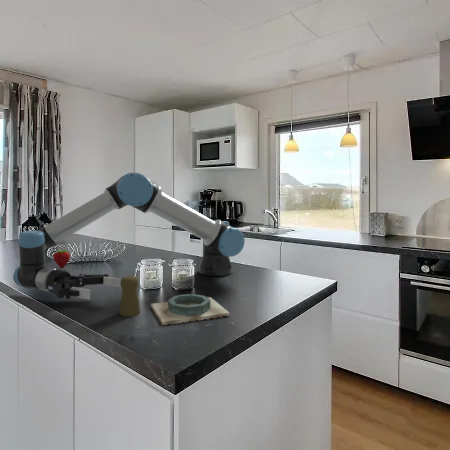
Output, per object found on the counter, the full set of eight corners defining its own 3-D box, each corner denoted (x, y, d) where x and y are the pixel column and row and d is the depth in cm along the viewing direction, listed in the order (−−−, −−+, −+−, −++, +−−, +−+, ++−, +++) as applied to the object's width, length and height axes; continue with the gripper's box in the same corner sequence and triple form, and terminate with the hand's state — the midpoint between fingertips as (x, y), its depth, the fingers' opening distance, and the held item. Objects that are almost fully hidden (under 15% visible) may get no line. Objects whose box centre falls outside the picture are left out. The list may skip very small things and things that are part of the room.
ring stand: (210, 299, 117) (210, 289, 116) (229, 316, 102) (229, 304, 102) (151, 306, 109) (151, 296, 109) (162, 325, 94) (162, 313, 94)
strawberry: (58, 266, 162) (58, 245, 161) (73, 267, 161) (72, 246, 160) (50, 269, 156) (49, 247, 155) (65, 270, 155) (64, 248, 154)
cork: (121, 309, 106) (121, 274, 105) (141, 309, 107) (141, 274, 106) (117, 316, 100) (116, 279, 99) (138, 316, 101) (138, 279, 100)
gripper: (83, 282, 126) (131, 289, 118) (20, 302, 103) (74, 313, 95) (82, 262, 125) (130, 268, 117) (18, 278, 102) (73, 286, 94)
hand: (105, 288), depth 106 cm, fingers open, 13 cm apart
